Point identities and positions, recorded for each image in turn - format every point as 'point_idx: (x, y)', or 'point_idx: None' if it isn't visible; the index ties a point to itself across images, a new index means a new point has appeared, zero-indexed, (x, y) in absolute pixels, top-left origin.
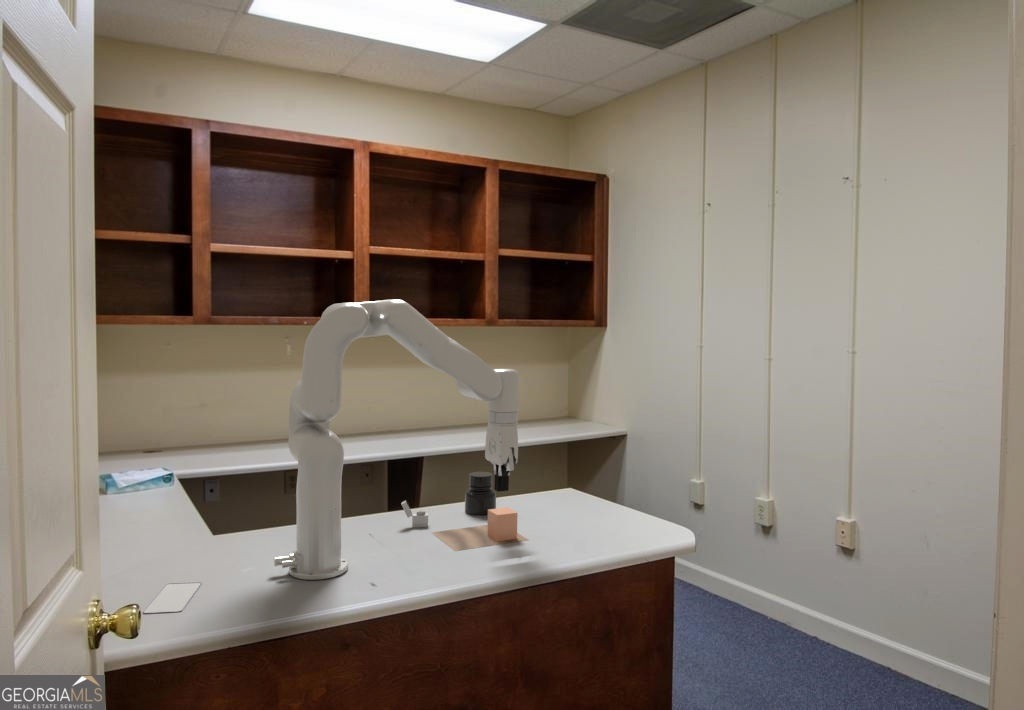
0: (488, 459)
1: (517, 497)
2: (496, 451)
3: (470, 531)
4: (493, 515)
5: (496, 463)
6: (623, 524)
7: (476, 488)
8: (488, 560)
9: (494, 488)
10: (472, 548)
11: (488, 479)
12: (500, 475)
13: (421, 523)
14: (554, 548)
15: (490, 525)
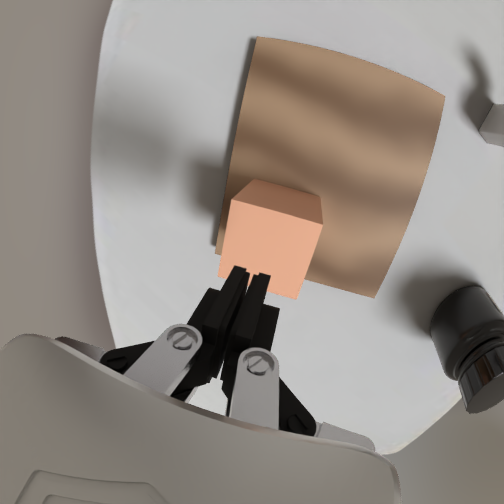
0: (291, 448)
1: (443, 409)
2: (15, 462)
3: (382, 184)
4: (269, 205)
5: (81, 361)
6: (221, 413)
7: (487, 347)
8: (181, 93)
9: (268, 277)
10: (246, 84)
11: (468, 391)
12: (171, 328)
13: (497, 120)
14: (170, 269)
15: (298, 200)
